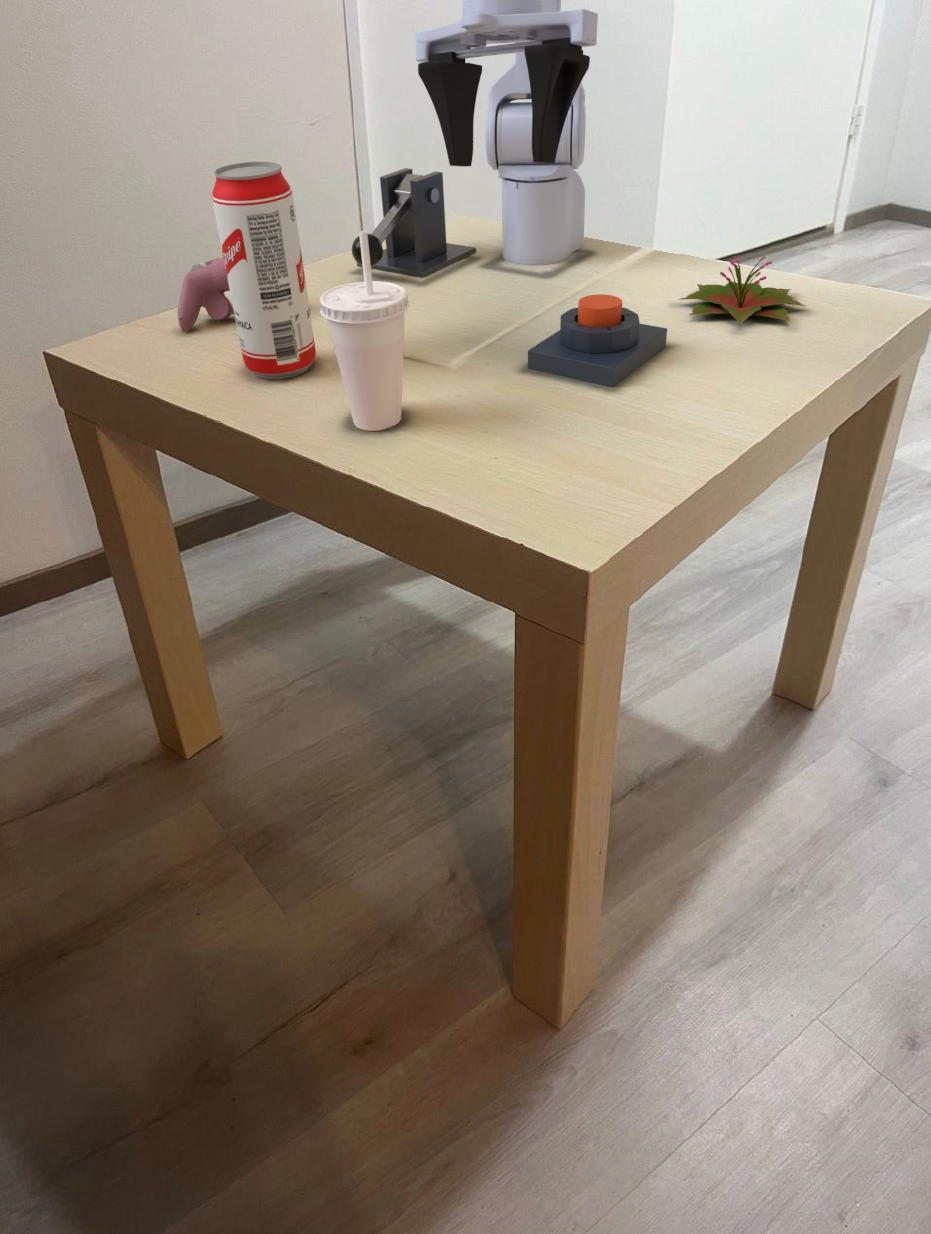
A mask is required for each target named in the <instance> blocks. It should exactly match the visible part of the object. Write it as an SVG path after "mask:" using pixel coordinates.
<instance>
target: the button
mask: <svg viewBox="0 0 931 1234" xmlns="http://www.w3.org/2000/svg"><path fill="white" fill-rule="evenodd" d="M622 307H623V300H622V299H621V298H620V297H618V296H615V295H612V294H604V293H603V294H602V293H601V294H590V295H586V296H583V297H581V298H580V299H578V303H577V308H578V323H579V324H581V325H584V326H590V327H610V326H615V325H619V324H620V323H621V316H622Z"/></svg>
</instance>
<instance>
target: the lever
mask: <svg viewBox="0 0 931 1234" xmlns="http://www.w3.org/2000/svg"><path fill="white" fill-rule="evenodd" d="M421 176H424V175H423V174H414V173H413V174H407V175H406V176H405V178H404V179H403V180H402V181H401V183H400V184H399V185H398V186H397V188H396V189H395V190H394V192H395V194H396V197H397V199H398V200H397V202H396V203H395V204H394V206H393V207H392V208H391V209H390V211H389V212H388V213H387V214H386V216H385V217H383V218H382V220H380V222H379V223H378V224H377V226H376V227H375V228H374V230H373V231H372V232H371V233H367V236H368V245H369V255H370V265H371V267H372V266H374V265H376V264H377V263H379V261H380V260H381V258H382V255H383V250H384V247H383V243H384V242H385V241H386V238H387V237H388V235H389V234H390V233H391V231H392V230H393V229H394V228H395V226H396V225H397V224H398V222H399V221H400V220H401V219H402V217H403V216H404V215H405V213H406V212H407V211H412V199H411V185H410V180H413V179H416V178H419V177H421ZM351 254H352V258H353V260H354V261H355V262H356V264H357V263H358V264H360V265H361V266H363V265H362V255H361V246H360V237H359V235H358V236H356V238H355V239H354V240H353V242H352V245H351Z"/></svg>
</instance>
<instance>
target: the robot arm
mask: <svg viewBox="0 0 931 1234" xmlns="http://www.w3.org/2000/svg"><path fill="white" fill-rule="evenodd" d="M598 17H599V13H597V12H594V11H591V10H588V9H586V8H581V9H580V8H579V9H571V10H562V0H462V16H460V21H456V22H453V23H452V22H451V23H448V24H446V25H445V24H444V25H442V26H438V27H435V28H430V29H426V30H421V31H416V32H415V59H416V60H415V61H416V62H419V63H418V64H417V74H418V76H419V78H420V79H421V81H422V83H423V85H424V87H425V90H426V91H427V94H428V96H429V98H430V100H431V102H432V105H433V107H434V110H435V114H436V116H437V119H438V122H439V125H440V129H441V133H442V137H443V141H444V145H445V150H446V154H447V159H448V163H449V166H450V167H463V168H464V167H465V168H467V167H472V163H473V155H474V122H475V121H474V120H475V119H474V118H475V109H476V108H475V107H476V102H477V95H478V90H479V85H480V82H481V77H482V74H483V65H481V64H478V63H471V62H466V59H473V58H481V57H490V56H498V55H499V56H501V55H508V54H514V62H513V64H512V65H511V66H510V67H509V68H508V69H507V70H506V71H504V72H503V73H502V74H501V75H500V76H499V77H498V78H497V79H496V80H494V82H492V84H491V86H490V90H489V91H488V94H487V111H486V117H485V135H484V136H485V138H484V139H485V154H486V161H487V164H488V165H489V166H490V168H491V169H492V171H497V173H498V174H497V175H498V176H497V178H498V179H501V227H502V228H501V230H502V231H501V232H502V258H503V260H505V261H506V262H507V263H511V264H514V265H519V266H530V267H531V266H547V265H553V264H557V263H560V262H563V261H565V260H566V259H568V258H569V256H570V255H571V254H572V253H574V252H576V251H577V250H579V249H582V248H583V247H584V246H585V245H584V243H585V216H586V215H585V214H586V213H585V212H586V189H585V185H584V183H583V180H582V177H581V176H580V175H579V173H578V172H577V171H576V170H579V168H580V166H581V165H583V164H584V158H585V146H586V145H585V144H586V123H587V122H586V119H587V118H586V117H587V116H586V113H587V112H586V106H585V105H586V89H585V88H584V87H583V82H582V81H583V79H584V77H585V76H586V74H587V72H588V71H589V68H590V62H591V56H589V55H586V54H584V49H583V48H585V47H586V48H587V47H595V46H597V42H598V41H597V39H598V19H599V18H598ZM490 44H492V45H490ZM493 44H497V45H493ZM498 44H499V45H498ZM487 45H489V46H487ZM518 100H520V101H519V102H515V101H518ZM521 100H531V101H524V102H521ZM513 101H514V102H513Z"/></svg>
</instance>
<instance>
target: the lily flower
mask: <svg viewBox="0 0 931 1234" xmlns="http://www.w3.org/2000/svg"><path fill="white" fill-rule="evenodd" d="M765 259H766V255H764V256H763V257H761V258H760V259H759V261H758V262H757V263H756V264H755V266H754V267H753V268H752V270H751V271H750V272H749V274H748V276H747V277H746V280H745V281H744V283H742V272H741V266H740V263H739V259H738V258H737V256H736V255H734V260H735V261H736V262H734V261H733V260H732V259H728V261H729V263H730V264H731V265H732V266H733V268H734V271H735V276H736V277H735V276H734V272H733V270H732V268H731V267H730V266H728V268H727V269H728V271H729V273H730V274H731V276H732V278H733V281H732V280H731V278H730V277H728V276H727V274H726V273H724V272H723V271H720V272H719V274H720V276H721V277H722V278H725V279H726V281H727V283H726V284H725V285H723V284H700V283H696V285H697V287H698V290H696V291H694V292H692V293H690V294H688V295H687V296H686V297H681V298H678V299H677V300H681V301H682V300H698V301H703V302H700V303H697V304H696V305H694V307H693V309H692V310H691V311H692V312H691V313H690V314H689V316H697V315H710V314H711V315H713V314H719V315H723V314H724V315H728V314H730V315H731V316H732V317H733V318H734V319H735V320H736V321H737V324H739V325H741V324H742V323H743V322H745V321H746V320H748V318H749V317H750V316H757V317H767V318H773V319H777V320H782V321H783V320H784V321H787V322H791V320H790V316H789V312H788V310H787V309H786V308H783V307H780V306H778V305H784V304H786V305H793V306H800V307H806V305H805V304H802V303H801V302H800V301H798V300H796V299H794V297H792V296H790V295H789V292H790V291H791V290H792V288H780V287H779V288H777V287H762V285H760V282H761V281H764V280H766V279H767V276H762V277H759V279H758V280H755V281H754V282H753V280H754V279H755V278H758V276H760V275H761V270H763V269H764V270H765V267H766V266H769V265H773V261H767V262H766V263H765V264H763V265H762V266H759V268H757V269H756V267H757V266H758V265H759V263H760V262H762V261H763V260H765ZM755 269H756V270H755ZM735 278H736V279H735ZM736 281H737V282H736Z"/></svg>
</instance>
